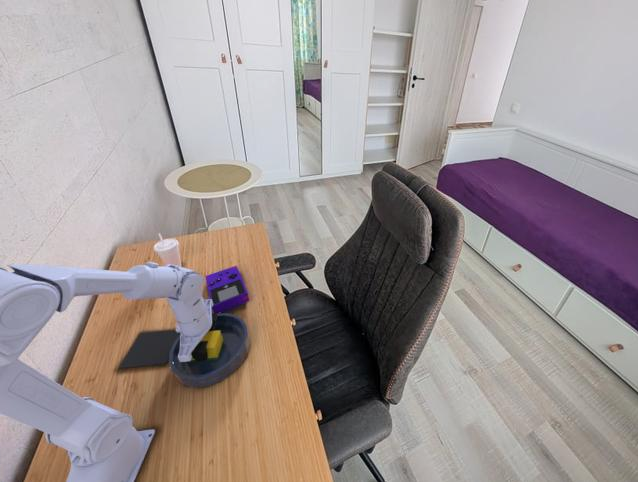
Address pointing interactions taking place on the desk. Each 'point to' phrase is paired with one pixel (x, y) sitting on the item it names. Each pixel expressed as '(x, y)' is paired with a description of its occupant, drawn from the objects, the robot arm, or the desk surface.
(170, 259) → the smoothie
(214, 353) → the sponge
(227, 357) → the bowl
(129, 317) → the desk surface
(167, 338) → the mat
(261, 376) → the desk surface
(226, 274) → the handheld gaming console
